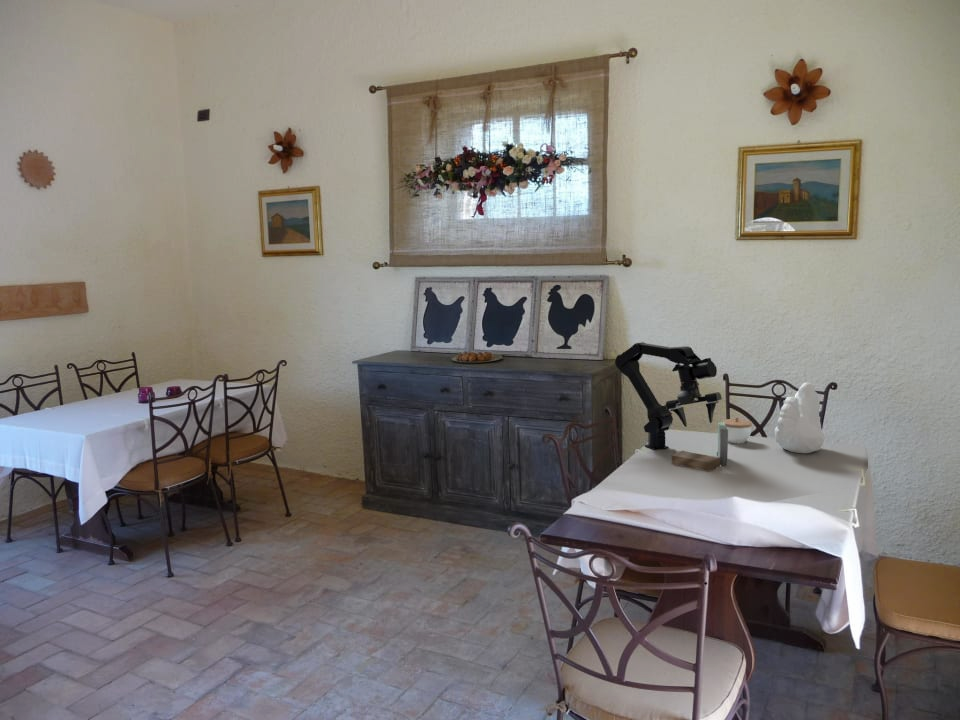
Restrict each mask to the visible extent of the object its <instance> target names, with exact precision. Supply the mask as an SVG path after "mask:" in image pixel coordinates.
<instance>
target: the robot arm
mask: <svg viewBox="0 0 960 720" xmlns="http://www.w3.org/2000/svg"><path fill="white" fill-rule="evenodd" d="M643 355H647V356H652V357H657V358H658V357H659V358H664V359H665V360H666V359H667V360H668V361H670V362H672V363H675V365H674V367H672V372H677V373H678V377H679V382H680V386H679V387H680V388H679V389H680V392H678V394H677V397H676V399H671V400H667V401H666V402H665V405H662V404H661V403H659V401H658V400H657V398H656V397H655V395H654V393H653V391H652V390H651V388H650V386H649V385H648V383H647V381H646V379H645V378H644V376H643V375H642V372H641V371H640V370H641V369H640V362H639V360H640V359H642V358H643ZM614 364H615V367H616V368H617V369H618V371H619V372H620V373H621V374H623V375H624V376H625V377H627V378H628V380H629V382H630V383H631V385H632V386H633V388H634V390H635V392H636V394H637V395H638V396H639V398H640V400H641V401H642V403H643V405H644V406H645V408H646V411H647V412H646V413H647V415H646V416H647V420H648V421H647V423H645V425H643V429H644V432H645V433H646V434H648V436H647V441H648V442H647V444H644V447H647V448H649V449H651V450H653V451H657V450H664V449H669V446H668V445H666V431H668V430H669V429H670V427H671V426H672V425H673V420H674V418H673V412H674V413H675V414H676V415H677V417H678V418H679V420H680V421H681V422H682V424H683V426H684V427H687V426H688V424H687V419H686V415H685V407H684V405H685V406H686V405H691V404H692V405H693V404H697V403H704V402H707V403H705V407H706V408H707V414H708V415H707V417H708V421H709V423H710V424H712V423H713V419H714V414H715V408H716V405H717V404H718V403H719V401H721V400H722V399H723V398H722V394H721V393H720V392H719V391H716V392H711V393H710V392H709V393H707V394H704V395H703V396H702V393H701V392H700V387H699V386H700V383H699V382H698V380H704V379H710V378H714V377H716V376H717V374H718V373H717V372H718V370H717V366H716V364H715V363H714V362H713V361H712V358H711V357H707V358H704V359H701V358H700V356H699V355H697V354H696V353H695V352H694V350H693V349H692V347H691V346H689V345H688V346H687V345H686V346H671V347H670V346H665V345H658V344H653V343H646V342H644V341H641V342H636V343H634V344H632V346H630V347H629V348H628V349H627V350H625V351H624V352H622V353H621V354H619V355H617V356H616V357H615V361H614Z"/></svg>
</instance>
